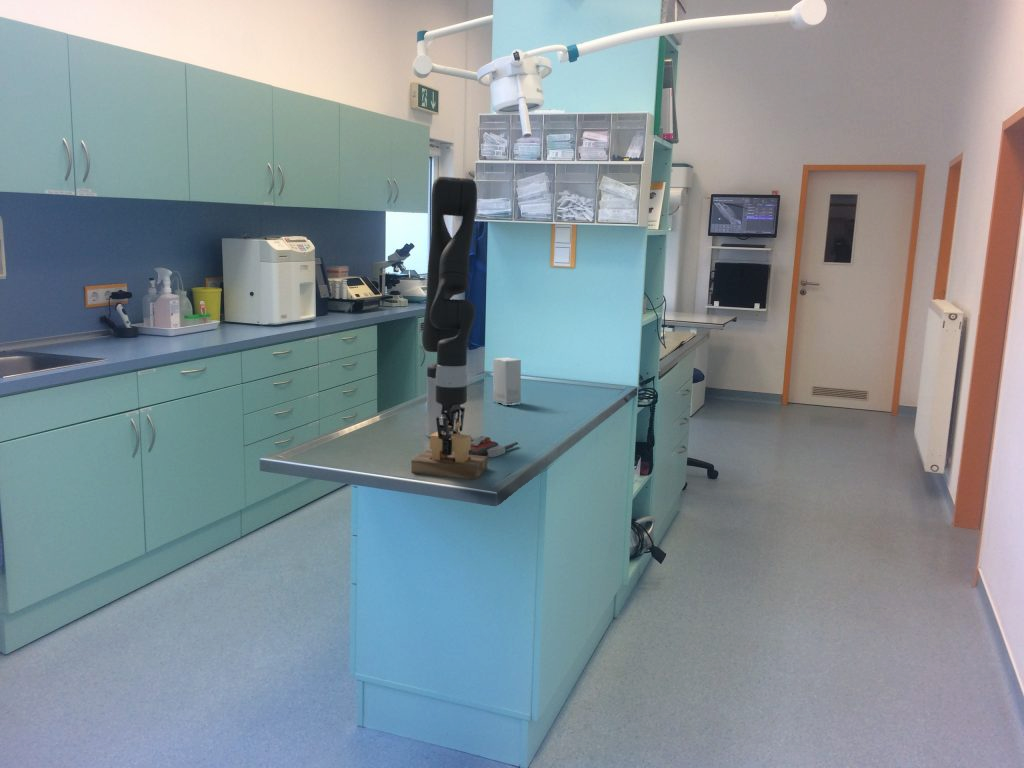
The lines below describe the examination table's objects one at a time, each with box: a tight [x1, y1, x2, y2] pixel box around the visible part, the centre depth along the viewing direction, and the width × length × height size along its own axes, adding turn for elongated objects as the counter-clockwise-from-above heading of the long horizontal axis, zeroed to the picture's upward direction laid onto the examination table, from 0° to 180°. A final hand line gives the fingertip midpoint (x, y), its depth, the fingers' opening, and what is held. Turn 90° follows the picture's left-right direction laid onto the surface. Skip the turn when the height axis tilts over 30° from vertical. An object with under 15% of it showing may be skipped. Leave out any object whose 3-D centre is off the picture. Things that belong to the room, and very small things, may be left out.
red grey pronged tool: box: [469, 435, 519, 458], centre depth 215 cm, size 9×4×20 cm
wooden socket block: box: [411, 449, 489, 480], centre depth 197 cm, size 10×16×3 cm, turn 74°
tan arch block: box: [429, 432, 472, 463], centre depth 196 cm, size 4×9×8 cm, turn 74°
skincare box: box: [492, 356, 522, 404], centre depth 277 cm, size 8×7×16 cm
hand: (450, 452), depth 196 cm, fingers closed on tan arch block, 4 cm apart
